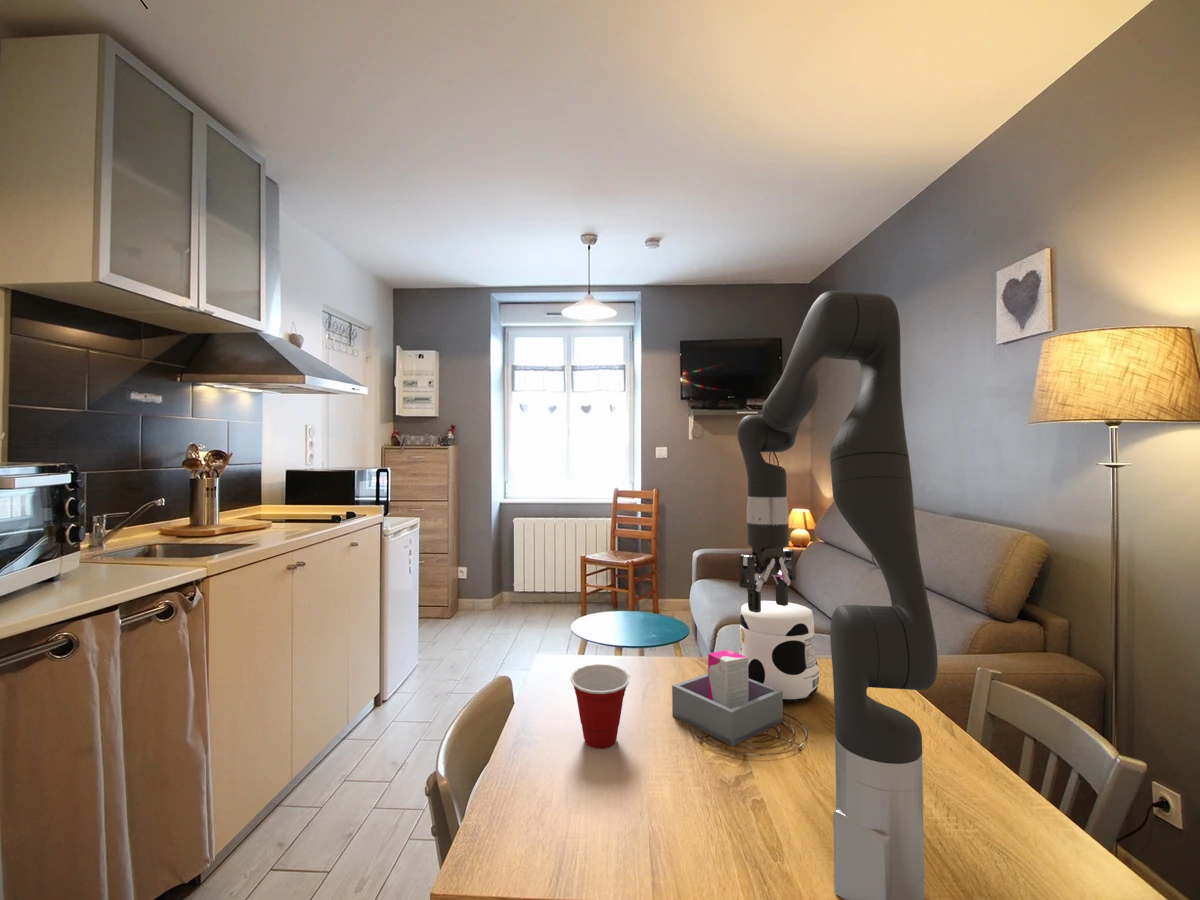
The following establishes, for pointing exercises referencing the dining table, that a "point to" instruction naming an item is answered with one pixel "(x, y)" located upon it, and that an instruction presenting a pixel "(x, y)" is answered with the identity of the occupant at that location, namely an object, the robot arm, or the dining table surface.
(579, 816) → the dining table surface
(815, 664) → the milk container
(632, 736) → the dining table surface
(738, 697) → the supplement box
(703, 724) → the box
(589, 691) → the plastic cup
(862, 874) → the robot arm
